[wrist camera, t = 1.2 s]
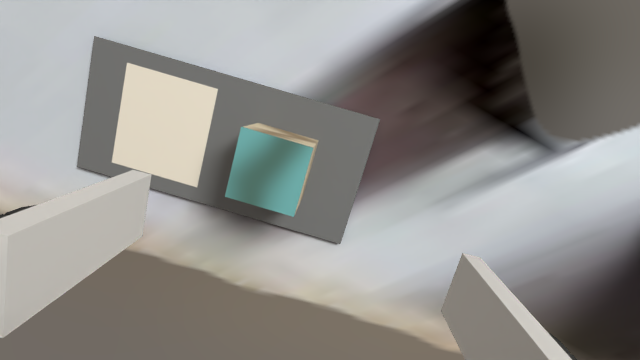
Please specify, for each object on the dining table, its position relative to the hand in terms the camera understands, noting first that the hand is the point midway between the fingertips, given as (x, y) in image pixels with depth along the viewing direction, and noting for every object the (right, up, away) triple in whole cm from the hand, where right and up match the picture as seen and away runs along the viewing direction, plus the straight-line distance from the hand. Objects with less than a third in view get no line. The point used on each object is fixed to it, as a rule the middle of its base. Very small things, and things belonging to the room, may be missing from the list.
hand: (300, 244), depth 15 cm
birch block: (-3, +4, +21) cm, 21 cm away
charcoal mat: (-9, +6, +21) cm, 24 cm away
